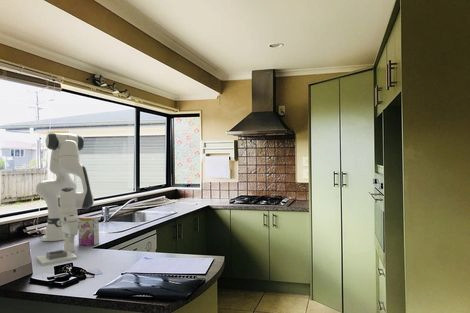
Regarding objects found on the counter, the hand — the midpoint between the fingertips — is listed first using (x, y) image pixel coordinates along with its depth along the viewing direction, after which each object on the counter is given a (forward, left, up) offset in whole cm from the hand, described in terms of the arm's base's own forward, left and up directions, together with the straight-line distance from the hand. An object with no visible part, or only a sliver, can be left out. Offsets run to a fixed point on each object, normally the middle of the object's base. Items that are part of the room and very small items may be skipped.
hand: (69, 241), depth 198 cm
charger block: (0, 0, -5) cm, 5 cm away
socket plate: (+13, -9, -5) cm, 17 cm away
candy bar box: (-8, +13, -6) cm, 16 cm away
